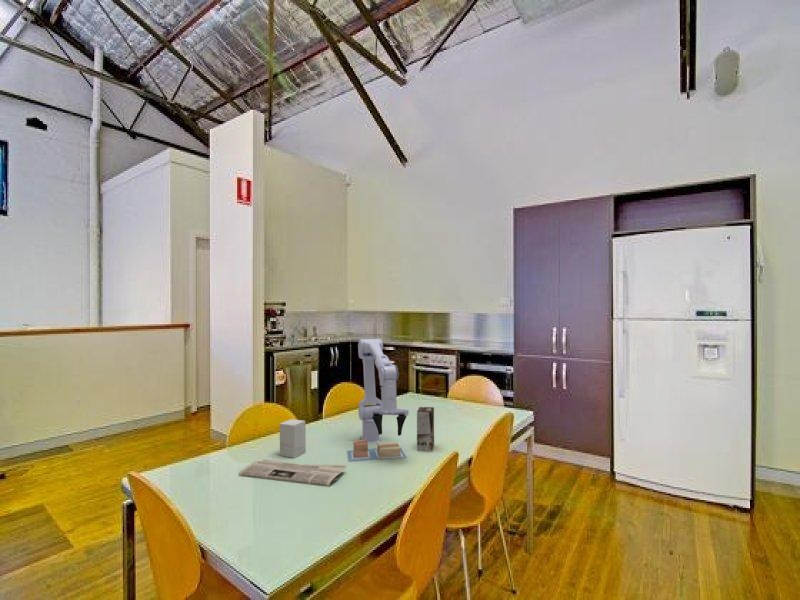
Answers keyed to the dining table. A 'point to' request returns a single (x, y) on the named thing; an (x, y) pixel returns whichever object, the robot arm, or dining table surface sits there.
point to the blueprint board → (371, 456)
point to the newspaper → (293, 472)
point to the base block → (388, 449)
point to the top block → (360, 448)
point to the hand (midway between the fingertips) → (389, 434)
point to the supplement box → (292, 438)
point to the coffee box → (425, 429)
